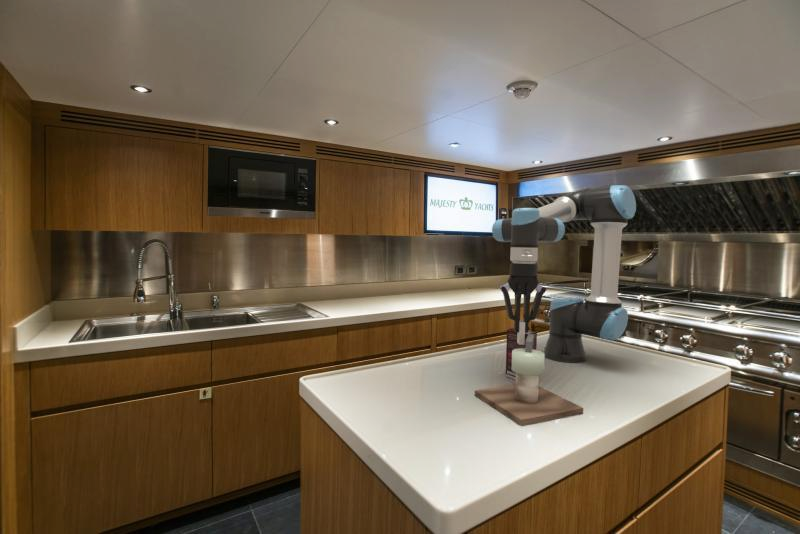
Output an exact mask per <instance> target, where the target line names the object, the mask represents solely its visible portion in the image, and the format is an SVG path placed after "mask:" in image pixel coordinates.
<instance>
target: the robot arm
mask: <svg viewBox="0 0 800 534" xmlns="http://www.w3.org/2000/svg"><path fill="white" fill-rule="evenodd" d="M636 211H637V202H636V197H635V194H634V192H633V190H632V189H631V188H630V187H629V186H627V185H625V184H624V185H623V184H621V185H617V184H614V185H613V184H612V185H606V186H599V187H590V188H589V187H588V188H582V189H581V188H580V189H579V190H575V191H573V192H570V193H568V194H564V195H562V196H559V197H557V198H556V199H555V200H554V201H553V202H551V203H548V204H546V205H543V206H540V207H538V208H536V207H518V208H515V209H513V211H512V214H511V217H510V218H502V219H501V218H499V219H497V220H495V221H494V223H493V224H492V227H491V232H492V236H493V239H494V240H495V241H497V242H503V243H510V256H509V258H510V260H509V261H511V263H510V264H509V278H508V280H507V283H505V284H503V285H500V286H499V289H500V291H501V292H502V295H503V299H504V304H505V309H506V313H507V317H508V319H510V320H512V321H513V322H514V326H513V328H514V331H515V332H517V343H518V344H519V345H524V342H525V333H528V331H529V330H530V329H529V326H530V325H529V323H530V321H535V320H536V318H537V316H538V312H539V308H540V305H541V302H542V299H543V295H544V294H545V293H546V291H547V288H546V287H545V286H542V285H541V284H539V280H538V264H537V262H538V259H539V258H538V255H539V243H548V244H549V243H551V244H552V243H556V242H558V241H560V240H562V238H563V237H564V235H565V232H566V227H565V224H564V223H569V222H571V221H586V220H587V221H590V226H591V227H593V229H594V238H593V239H594V240H593V250H592V251H593V252H592V266H591V267H592V268H591V282H590V283H591V284H590V295H588V296H587V297H586V298H585V301H584V298H583V297H581V298H580V297H565V298H564V297H563V298H561V297H560V298H555V299H552V300H551V302H550V308H549V331H548V332H549V335H548V338H547V340H546V344H545V346H544V348H543V353H544V354H545V358H547V359H549V360H552V361H555V362H556V361H557V362H563V363H572V364H573V363H582V362H583V363H584V362H585V361H586V358H587V357H586V356H587V353H586V351H585V349H584V344H583V343H584V342H583V339H582V336H583V335H585V336H590V337H596V338H600V339H602V340H610V341H614V340H615V341H616V340H618V339H619V338H620V337H621V336H622V335H623V334H624V332H625V331H626V328H627V326H628V321H629V314H628V310H627V309H626V308H624V307H622V303H623V302H622V300H620V298H619V297H618V294H619V293H618V292H619V278H620V263H621V252H622V250H621V249H622V234H623V229H624V228H625V227H626V226H628V222H629V221H628V220H631V219H633V217H634V216H635V215H636V214H635V213H636ZM510 289H511V290H512V292H513V293H514V310H513V308H512V302H511V298H510V293H509V291H510ZM534 291H535V292H536V293H535V295H534V298H533V302H532V306H531V295H532V293H533V292H534ZM522 295H523V310H522V311H523V313H522V320H521V308H522V307H521V306H522V305H521V304H522V303H521V302H522V300H521V299H522Z"/></svg>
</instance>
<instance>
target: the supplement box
mask: <svg viewBox="0 0 800 534" xmlns="http://www.w3.org/2000/svg"><path fill="white" fill-rule="evenodd" d="M528 334H534V345H533V349H534V350H537V342H538V341H537V340H538V332H537V331H532V330H528V333H525V342H524V345H519V344H518V343H517V332H515V331H514V327H511V328H507V329H506V346H505V347H506V349H505V350H506V352H505V353H506V354H505V355H506V356H505V357H506V358H505V359H506V360H505V377H508V378H510V379H513V380H515V381H516V372H514V371H512V369H511V368H512V350H514V349H518V348H525V344H526V339H527V336H528Z"/></svg>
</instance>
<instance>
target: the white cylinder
mask: <svg viewBox="0 0 800 534" xmlns="http://www.w3.org/2000/svg"><path fill="white" fill-rule="evenodd" d="M533 345H534V334H528V336H527V339H526V344H525V348H518V349H514V350H512V368H511V369H512V371H514V372H516V373H518V374H522V375H528V376H539V377H540V376H542V375H543V374H545V358H546V357H545V354H544V351H541V350H538V349H536V350H534V349H533Z"/></svg>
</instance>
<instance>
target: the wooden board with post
mask: <svg viewBox="0 0 800 534" xmlns="http://www.w3.org/2000/svg"><path fill="white" fill-rule="evenodd" d="M539 382H540V375H539V376H528V375H522V374H518V373H516V380H515V383H514V384H509V385H502V386H494V387H488V388H483V389H481V388H480V389H476V390H474V396H475V397H476V398H477V399H479V400H481V401H482V402H484V403H486V404H487V405H488V406H489V407H491V408H493V409H495V410H496V411H498V412H500V413H501V414H502V415H504V416H505V417H507V418H508V419H510V420H511V421H512V422H514V423H517V425H519V426H521V427H523V426H528V425H533V424H537V423H543V422H547V421H552V420H558V419H563V418H567V417H572V416H577V415H583V414H584V407H583V406H581V405H578V404H576V403H575V402H572V401H570V400H568V399H566V398H564V397H562V396H560V395H558V394H556V393H554V392H551V391H549V390H548V389H546V388H543V387H542V386H540V385H539V384H540V383H539Z"/></svg>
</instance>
